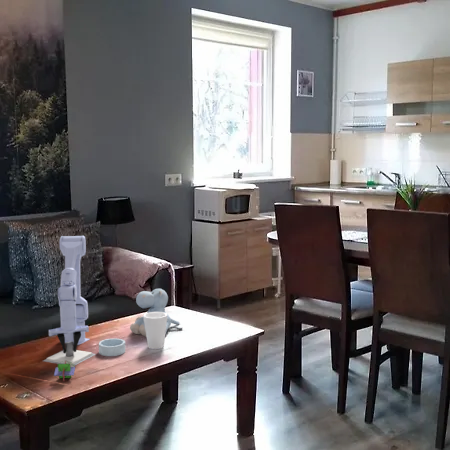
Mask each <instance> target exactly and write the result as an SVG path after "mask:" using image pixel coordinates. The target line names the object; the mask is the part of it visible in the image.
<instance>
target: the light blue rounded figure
mask: <svg viewBox="0 0 450 450" xmlns="http://www.w3.org/2000/svg"><path fill="white" fill-rule="evenodd" d="M135 300H136V301H135V302H136V305H138V307H140V308H142V309H147V308H149V309H148V310H147V312H146V313H149V312H164V313H166V314H167V324H166V332H165V335H166V334H167V332H168V329H169V328H170V329H171V328H172V329H175V330H176V329H177V330H183V327H178V326H171V324H173V325H180V324H181V323H180V321H177V320H175V319H173V318H171V317H170V315H169V314H168V313H167V312H166V306H167V305H168V301H169V296H168V294H167V292H166V291H165V290H164V289H162V288H155V289H153V290H152V291H149V290H148V291H147V290H143V291H140V292H138V294H137V295H136V298H135ZM129 329H130V331H131V332H132V333H133V334H135V335H142V337H145V338H147V337H146V330H145V324H144V317H143V315H142V316H137V317H136V318H135V321H134V323H132V324H130V327H129Z"/></svg>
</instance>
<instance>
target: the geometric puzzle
mask: <svg viewBox="0 0 450 450" xmlns="http://www.w3.org/2000/svg"><path fill="white" fill-rule="evenodd" d="M75 370H76V365H75V366H74V365H73V363H72V362H69V361H67V360H65V364H57V363H56V366H55V370H54V372H53V373H54V374H53V377H56V379H58V380H59V379H62V381H63V383H64V382H67V381H68V379H72V377H74V376H75ZM65 379H66V380H65Z"/></svg>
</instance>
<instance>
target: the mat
mask: <svg viewBox="0 0 450 450" xmlns="http://www.w3.org/2000/svg"><path fill="white" fill-rule="evenodd" d="M96 355H97V354H96V353H92V355H91V356H89V357H87V358H85V359H83V360H81V361H79V362H77V363H76V364H74V366H75V367H76V366H77V365H78V364H81V363H82V362H84V361H86V360H88V359H90V358H91V357H94V356H96ZM43 362H46V363H51V364H56V365H57V364H64V363H59V362H53V361H47V358H46V359H44V360H43Z"/></svg>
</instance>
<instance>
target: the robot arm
mask: <svg viewBox="0 0 450 450" xmlns="http://www.w3.org/2000/svg"><path fill="white" fill-rule="evenodd" d="M86 245H87V241H86V236H85V235H75V236H74V235H73V236H72V235H67V236H66V235H64V236H63V235H61V236H60V237H59V250H60V252H61V254H62V256H63V257H64V269H63V270H62V271H61V276H60V277H61V278H60V286H59V287H58V288H57V298H58V306H59V314H60V316H59V317H60V327H56V328H53V329H48V336H49V337H53V336H56V337H57V339H58V340H59V343H60V345H61V348H62V351H63V353H66V350H65V343H66V342H69V341H72V342H73V345H74V352H76V350H78V349H77V348H78V346H80V345H82V344H84V343H86V342H88V341H90V340H91V339H90V338H89V337H88V338H86V333H89V332H90V330H89V325H86V320H87V319H89V306H88V300H86V299H85V298H84V297H82V296H81V295H82V294H81V293H82V291H81V261H82V257H84V256H86V253H87V251H86V250H87V246H86Z"/></svg>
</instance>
